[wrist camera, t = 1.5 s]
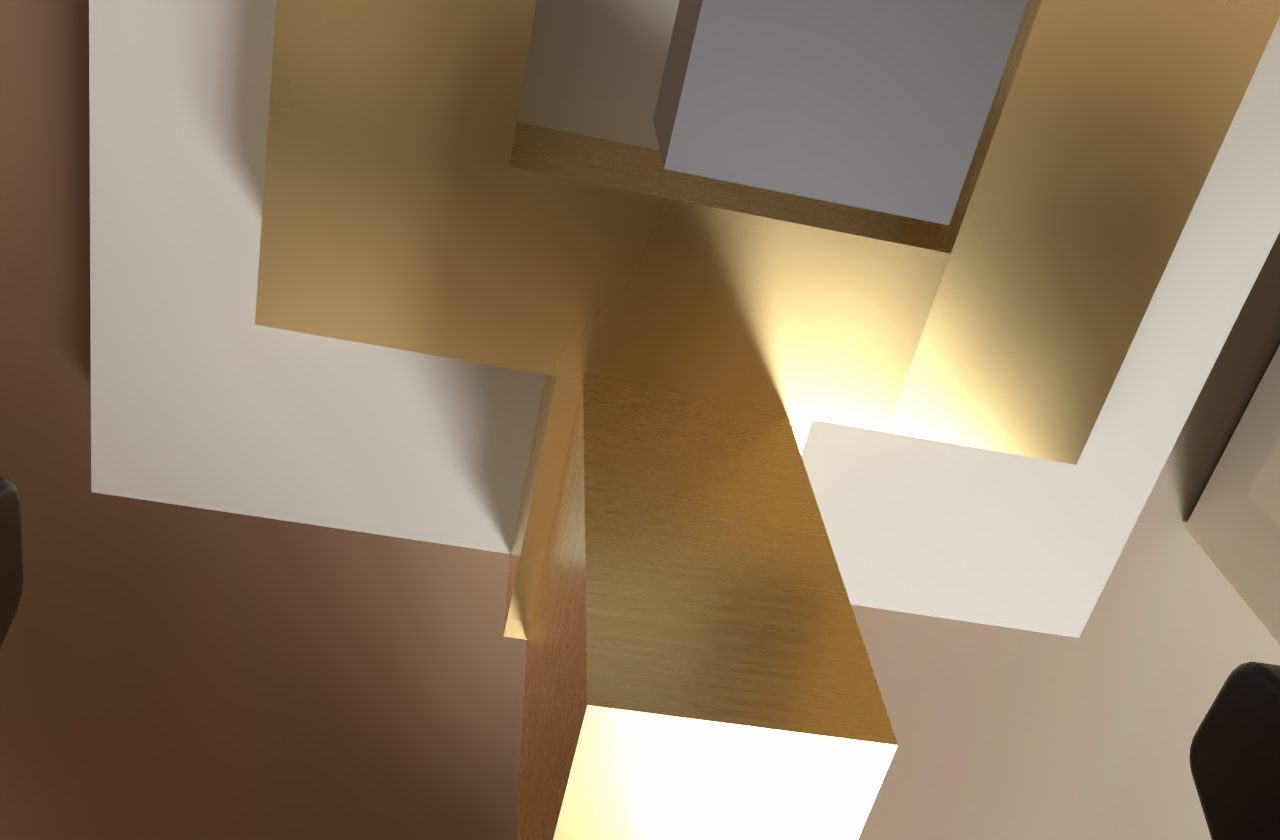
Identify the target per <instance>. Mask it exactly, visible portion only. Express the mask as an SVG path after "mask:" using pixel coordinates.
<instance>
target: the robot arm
mask: <svg viewBox="0 0 1280 840" xmlns="http://www.w3.org/2000/svg"><path fill="white" fill-rule="evenodd" d="M22 585H23V565H22V539H21V514H20V498H19V494H18V491H17V488H16V486H15V485H14V484H13V483H12V482H11V481H10V480H9V479H7V478H3V477H0V648H1V646H2V643H3V641H4V639H5V637H6V634H7V632H8V630H9V628H10V625H11V623H12V621H13V619H14V616H15V614H16V611H17V608H18V605H19V602H20V597H21V593H22ZM1190 767H1191V772H1192V776H1193V779H1194V782H1195V786H1196V789H1197V792H1198V795H1199V799H1200V802H1201V805H1202V809H1203V812H1204V815H1205V819H1206V822H1207V825H1208V828H1209V832H1210V835H1211V838H1212V840H1280V666H1279V665H1271V664H1264V663H1258V662H1248V663H1244V664H1241V665H1240V666H1238V667H1237V668H1236V669H1234V670H1233V671H1232V672H1231V674H1230V675H1229V676H1228V678H1227V680H1226V682H1225V683H1224V685H1223V687H1222V688H1221V690H1220V692H1219V694H1218V695H1217V697H1216V699H1215V701H1214V702H1213V704H1212V706H1211V707H1210V709H1209V711H1208V713H1207V714H1206V716H1205V718H1204V719H1203V721H1202V723H1201V725H1200V726H1199V728H1198V730H1197V732H1196V733H1195V735H1194V738H1193V740H1192V744H1191V748H1190Z"/></svg>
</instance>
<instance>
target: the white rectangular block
mask: <svg viewBox="0 0 1280 840" xmlns="http://www.w3.org/2000/svg"><path fill="white" fill-rule="evenodd" d="M1028 1H1029V0H537V3H536V9H535V15H534V21H533V27H532V33H531V39H530V45H529V51H528V57H527V63H526V69H525V75H524V81H523V87H522V93H521V99H520V105H519V111H518V117H517V122H521V123H526V124H531V125H536V126H541V127H546V128H550V129H555V130H560V131H565V132H570V133H575V134H580V135H585V136H590V137H595V138H600V139H605V140H610V141H615V142H620V143H625V144H630V145H635V146H640V147H645V148H650V149H655V150H660V153H661V158H662V162H663V166H664V169H668V170H673V171H678V172H683V173H688V174H693V175H698V176H703V177H708V178H713V179H718V180H723V181H728V182H733V183H738V184H743V185H748V186H753V187H758V188H763V189H768V190H773V191H778V192H783V193H788V194H793V195H798V196H803V197H808V198H813V199H818V200H823V201H828V202H833V203H838V204H843V205H848V206H854V207H859V208H864V209H869V210H874V211H879V212H884V213H889V214H894V215H899V216H904V217H909V218H914V219H919V220H924V221H929V222H934V223H939V224H944V225H949V223H950V221H951V218H952V215H953V212H954V209H955V206H956V204H957V201H958V198H959V195H960V192H961V190H962V187H963V184H964V181H965V178H966V175H967V173H968V170H969V167H970V164H971V161H972V159H973V156H974V153H975V150H976V147H977V144H978V142H979V139H980V136H981V133H982V130H983V128H984V125H985V122H986V119H987V116H988V113H989V111H990V108H991V105H992V102H993V99H994V97H995V94H996V91H997V88H998V85H999V83H1000V80H1001V77H1002V74H1003V71H1004V68H1005V66H1006V63H1007V60H1008V57H1009V54H1010V52H1011V49H1012V46H1013V43H1014V40H1015V37H1016V35H1017V32H1018V29H1019V26H1020V23H1021V21H1022V18H1023V15H1024V12H1025V9H1026V6H1027V4H1028ZM275 15H276V0H89V106H90V317H91V492H94V493H101V494H107V495H114V496H121V497H128V498H135V499H141V500H148V501H155V502H162V503H168V504H175V505H182V506H189V507H195V508H202V509H209V510H216V511H223V512H229V513H236V514H243V515H250V516H256V517H263V518H270V519H277V520H284V521H290V522H297V523H304V524H311V525H317V526H324V527H331V528H338V529H344V530H351V531H358V532H365V533H372V534H378V535H385V536H392V537H399V538H405V539H412V540H419V541H426V542H432V543H439V544H446V545H453V546H460V547H466V548H473V549H480V550H487V551H493V552H500V553H507V554H511V549H512V544H513V539H514V534H515V529H516V524H517V519H518V514H519V509H520V504H521V499H522V493H523V488H524V483H525V478H526V473H527V468H528V463H529V458H530V453H531V448H532V443H533V438H534V433H535V428H536V423H537V418H538V413H539V408H540V403H541V398H542V393H543V388H544V383H545V378H546V374H541V373H535V372H529V371H523V370H517V369H512V368H506V367H500V366H494V365H488V364H482V363H476V362H470V361H465V360H459V359H453V358H447V357H441V356H435V355H429V354H424V353H418V352H412V351H406V350H400V349H394V348H388V347H383V346H377V345H371V344H365V343H359V342H353V341H347V340H342V339H336V338H330V337H324V336H318V335H312V334H306V333H300V332H295V331H289V330H283V329H277V328H271V327H265V326H259V325H255V313H256V298H257V283H258V268H259V253H260V238H261V223H262V209H263V194H264V179H265V164H266V149H267V134H268V119H269V104H270V89H271V74H272V59H273V44H274V29H275ZM1279 232H1280V17H1279V20H1278V22H1277V24H1276V26H1275V28H1274V31H1273V33H1272V35H1271V37H1270V40H1269V42H1268V44H1267V46H1266V48H1265V51H1264V53H1263V55H1262V57H1261V59H1260V62H1259V64H1258V66H1257V68H1256V70H1255V73H1254V75H1253V77H1252V79H1251V81H1250V84H1249V86H1248V88H1247V90H1246V92H1245V95H1244V97H1243V99H1242V101H1241V103H1240V106H1239V108H1238V110H1237V112H1236V114H1235V117H1234V119H1233V121H1232V123H1231V125H1230V128H1229V130H1228V132H1227V134H1226V136H1225V139H1224V141H1223V143H1222V145H1221V147H1220V150H1219V152H1218V154H1217V156H1216V158H1215V161H1214V163H1213V165H1212V167H1211V169H1210V172H1209V174H1208V176H1207V178H1206V180H1205V183H1204V185H1203V187H1202V189H1201V192H1200V194H1199V196H1198V198H1197V200H1196V203H1195V205H1194V207H1193V209H1192V211H1191V214H1190V216H1189V218H1188V220H1187V222H1186V225H1185V227H1184V229H1183V231H1182V233H1181V236H1180V238H1179V240H1178V242H1177V244H1176V247H1175V249H1174V251H1173V253H1172V255H1171V258H1170V260H1169V262H1168V264H1167V266H1166V269H1165V271H1164V273H1163V275H1162V277H1161V280H1160V282H1159V284H1158V286H1157V288H1156V291H1155V293H1154V295H1153V297H1152V299H1151V302H1150V304H1149V306H1148V308H1147V310H1146V313H1145V315H1144V317H1143V319H1142V321H1141V324H1140V326H1139V328H1138V330H1137V332H1136V335H1135V337H1134V339H1133V341H1132V344H1131V346H1130V348H1129V350H1128V352H1127V355H1126V357H1125V359H1124V361H1123V363H1122V366H1121V368H1120V370H1119V372H1118V374H1117V377H1116V379H1115V381H1114V383H1113V385H1112V388H1111V390H1110V392H1109V394H1108V396H1107V399H1106V401H1105V403H1104V405H1103V407H1102V410H1101V412H1100V414H1099V416H1098V418H1097V421H1096V423H1095V425H1094V427H1093V429H1092V432H1091V434H1090V436H1089V438H1088V440H1087V443H1086V445H1085V447H1084V449H1083V451H1082V454H1081V456H1080V458H1079V460H1078V462H1077V465H1074V464H1068V463H1062V462H1057V461H1051V460H1045V459H1039V458H1033V457H1027V456H1021V455H1016V454H1010V453H1004V452H998V451H992V450H986V449H980V448H975V447H969V446H963V445H957V444H951V443H945V442H939V441H934V440H928V439H922V438H916V437H910V436H904V435H898V434H892V433H887V432H881V431H875V430H869V429H863V428H857V427H851V426H846V425H840V424H834V423H828V422H822V421H816V420H813V421H812V424H811V427H810V430H809V433H808V436H807V439H806V442H805V445H804V449H803V452H802V455H801V456H802V459H803V462H804V465H805V468H806V471H807V474H808V477H809V480H810V483H811V486H812V489H813V493H814V496H815V499H816V502H817V505H818V508H819V511H820V514H821V517H822V520H823V523H824V526H825V529H826V532H827V535H828V538H829V541H830V544H831V547H832V550H833V553H834V556H835V559H836V562H837V565H838V568H839V571H840V574H841V577H842V580H843V583H844V586H845V589H846V592H847V595H848V598H849V601H850V604H852V605H859V606H866V607H872V608H879V609H886V610H893V611H900V612H906V613H913V614H920V615H927V616H933V617H940V618H947V619H954V620H960V621H967V622H974V623H981V624H988V625H994V626H1001V627H1008V628H1015V629H1021V630H1028V631H1035V632H1042V633H1049V634H1055V635H1062V636H1069V637H1076V638H1079V636H1080V634H1081V632H1082V630H1083V628H1084V626H1085V624H1086V622H1087V620H1088V618H1089V616H1090V614H1091V612H1092V610H1093V608H1094V606H1095V604H1096V602H1097V600H1098V598H1099V596H1100V594H1101V592H1102V590H1103V588H1104V586H1105V584H1106V582H1107V580H1108V578H1109V576H1110V574H1111V572H1112V570H1113V568H1114V566H1115V564H1116V562H1117V560H1118V558H1119V556H1120V554H1121V552H1122V550H1123V548H1124V545H1125V543H1126V541H1127V539H1128V537H1129V535H1130V533H1131V531H1132V529H1133V527H1134V525H1135V523H1136V521H1137V519H1138V517H1139V515H1140V513H1141V511H1142V509H1143V507H1144V505H1145V503H1146V501H1147V499H1148V497H1149V495H1150V493H1151V491H1152V489H1153V487H1154V485H1155V483H1156V481H1157V479H1158V477H1159V475H1160V473H1161V471H1162V469H1163V467H1164V465H1165V463H1166V461H1167V459H1168V457H1169V455H1170V453H1171V451H1172V448H1173V446H1174V444H1175V442H1176V440H1177V438H1178V436H1179V434H1180V432H1181V430H1182V428H1183V426H1184V424H1185V422H1186V420H1187V418H1188V416H1189V414H1190V412H1191V410H1192V408H1193V406H1194V404H1195V402H1196V400H1197V398H1198V396H1199V394H1200V392H1201V390H1202V388H1203V386H1204V384H1205V382H1206V380H1207V378H1208V376H1209V374H1210V372H1211V370H1212V368H1213V366H1214V364H1215V362H1216V360H1217V358H1218V356H1219V354H1220V352H1221V349H1222V347H1223V345H1224V343H1225V341H1226V339H1227V337H1228V335H1229V333H1230V331H1231V329H1232V327H1233V325H1234V323H1235V321H1236V319H1237V317H1238V315H1239V313H1240V311H1241V309H1242V307H1243V305H1244V303H1245V301H1246V299H1247V297H1248V295H1249V293H1250V291H1251V289H1252V287H1253V285H1254V283H1255V281H1256V279H1257V277H1258V275H1259V273H1260V271H1261V269H1262V267H1263V265H1264V263H1265V261H1266V259H1267V257H1268V255H1269V253H1270V250H1271V248H1272V246H1273V244H1274V242H1275V240H1276V238H1277V236H1278V234H1279Z"/></svg>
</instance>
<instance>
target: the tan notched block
mask: <svg viewBox="0 0 1280 840" xmlns="http://www.w3.org/2000/svg"><path fill="white" fill-rule="evenodd" d="M536 3H537V0H276V15H275V29H274V44H273V59H272V74H271V89H270V104H269V119H268V134H267V149H266V164H265V179H264V194H263V209H262V223H261V238H260V253H259V268H258V283H257V298H256V313H255V325H259V326H265V327H271V328H277V329H283V330H289V331H295V332H300V333H306V334H312V335H318V336H324V337H330V338H336V339H342V340H347V341H353V342H359V343H365V344H371V345H377V346H383V347H388V348H394V349H400V350H406V351H412V352H418V353H424V354H429V355H435V356H441V357H447V358H453V359H459V360H465V361H470V362H476V363H482V364H488V365H494V366H500V367H506V368H512V369H517V370H523V371H529V372H535V373H541V374H546V378H545V383H544V388H543V393H542V398H541V403H540V408H539V413H538V418H537V423H536V428H535V433H534V438H533V443H532V448H531V453H530V458H529V463H528V468H527V473H526V478H525V483H524V488H523V493H522V499H521V504H520V509H519V514H518V519H517V524H516V529H515V534H514V539H513V544H512V549H511V554H510V566H509V578H508V590H507V602H506V614H505V626H504V637H510V638H518V639H525V640H527V651H526V669H525V687H524V705H523V723H522V741H521V759H520V777H519V795H518V813H517V831H516V840H858V838H859V835H860V833H861V830H862V828H863V826H864V823H865V821H866V819H867V816H868V814H869V812H870V809H871V807H872V805H873V802H874V800H875V798H876V795H877V793H878V791H879V788H880V786H881V784H882V781H883V779H884V777H885V774H886V772H887V770H888V767H889V765H890V762H891V760H892V758H893V755H894V753H895V751H896V748H897V746H898V745H897V742H896V739H895V736H894V733H893V730H892V727H891V724H890V721H889V718H888V715H887V712H886V709H885V706H884V703H883V700H882V697H881V694H880V691H879V688H878V685H877V682H876V679H875V676H874V673H873V670H872V667H871V664H870V661H869V658H868V655H867V652H866V649H865V646H864V643H863V640H862V637H861V634H860V631H859V628H858V625H857V622H856V619H855V616H854V613H853V610H852V607H851V604H850V601H849V598H848V595H847V592H846V589H845V586H844V583H843V580H842V577H841V574H840V571H839V568H838V565H837V562H836V559H835V556H834V553H833V550H832V547H831V544H830V541H829V538H828V535H827V532H826V529H825V526H824V523H823V520H822V517H821V514H820V511H819V508H818V505H817V502H816V499H815V496H814V493H813V489H812V486H811V483H810V480H809V477H808V474H807V471H806V468H805V465H804V462H803V459H802V456H801V455H802V452H803V449H804V445H805V442H806V439H807V436H808V433H809V430H810V427H811V424H812V421H813V420H816V421H822V422H828V423H834V424H840V425H846V426H851V427H857V428H863V429H869V430H875V431H881V432H887V433H892V434H898V435H904V436H910V437H916V438H922V439H928V440H934V441H939V442H945V443H951V444H957V445H963V446H969V447H975V448H980V449H986V450H992V451H998V452H1004V453H1010V454H1016V455H1021V456H1027V457H1033V458H1039V459H1045V460H1051V461H1057V462H1062V463H1068V464H1074V465H1077V462H1078V460H1079V458H1080V456H1081V454H1082V451H1083V449H1084V447H1085V445H1086V443H1087V440H1088V438H1089V436H1090V434H1091V432H1092V429H1093V427H1094V425H1095V423H1096V421H1097V418H1098V416H1099V414H1100V412H1101V410H1102V407H1103V405H1104V403H1105V401H1106V399H1107V396H1108V394H1109V392H1110V390H1111V388H1112V385H1113V383H1114V381H1115V379H1116V377H1117V374H1118V372H1119V370H1120V368H1121V366H1122V363H1123V361H1124V359H1125V357H1126V355H1127V352H1128V350H1129V348H1130V346H1131V344H1132V341H1133V339H1134V337H1135V335H1136V332H1137V330H1138V328H1139V326H1140V324H1141V321H1142V319H1143V317H1144V315H1145V313H1146V310H1147V308H1148V306H1149V304H1150V302H1151V299H1152V297H1153V295H1154V293H1155V291H1156V288H1157V286H1158V284H1159V282H1160V280H1161V277H1162V275H1163V273H1164V271H1165V269H1166V266H1167V264H1168V262H1169V260H1170V258H1171V255H1172V253H1173V251H1174V249H1175V247H1176V244H1177V242H1178V240H1179V238H1180V236H1181V233H1182V231H1183V229H1184V227H1185V225H1186V222H1187V220H1188V218H1189V216H1190V214H1191V211H1192V209H1193V207H1194V205H1195V203H1196V200H1197V198H1198V196H1199V194H1200V192H1201V189H1202V187H1203V185H1204V183H1205V180H1206V178H1207V176H1208V174H1209V172H1210V169H1211V167H1212V165H1213V163H1214V161H1215V158H1216V156H1217V154H1218V152H1219V150H1220V147H1221V145H1222V143H1223V141H1224V139H1225V136H1226V134H1227V132H1228V130H1229V128H1230V125H1231V123H1232V121H1233V119H1234V117H1235V114H1236V112H1237V110H1238V108H1239V106H1240V103H1241V101H1242V99H1243V97H1244V95H1245V92H1246V90H1247V88H1248V86H1249V84H1250V81H1251V79H1252V77H1253V75H1254V73H1255V70H1256V68H1257V66H1258V64H1259V62H1260V59H1261V57H1262V55H1263V53H1264V51H1265V48H1266V46H1267V44H1268V42H1269V40H1270V37H1271V35H1272V33H1273V31H1274V28H1275V26H1276V24H1277V22H1278V20H1279V17H1280V0H1029V1H1028V4H1027V6H1026V9H1025V12H1024V15H1023V18H1022V21H1021V23H1020V26H1019V29H1018V32H1017V35H1016V37H1015V40H1014V43H1013V46H1012V49H1011V52H1010V54H1009V57H1008V60H1007V63H1006V66H1005V68H1004V71H1003V74H1002V77H1001V80H1000V83H999V85H998V88H997V91H996V94H995V97H994V99H993V102H992V105H991V108H990V111H989V113H988V116H987V119H986V122H985V125H984V128H983V130H982V133H981V136H980V139H979V142H978V144H977V147H976V150H975V153H974V156H973V159H972V161H971V164H970V167H969V170H968V173H967V175H966V178H965V181H964V184H963V187H962V190H961V192H960V195H959V198H958V201H957V204H956V206H955V209H954V212H953V215H952V218H951V221H950V223H949V225H944V224H939V223H934V222H929V221H924V220H919V219H914V218H909V217H904V216H899V215H894V214H889V213H884V212H879V211H874V210H869V209H864V208H859V207H854V206H848V205H843V204H838V203H833V202H828V201H823V200H818V199H813V198H808V197H803V196H798V195H793V194H788V193H783V192H778V191H773V190H768V189H763V188H758V187H753V186H748V185H743V184H738V183H733V182H728V181H723V180H718V179H713V178H708V177H703V176H698V175H693V174H688V173H683V172H678V171H673V170H668V169H664V166H663V162H662V158H661V153H660V150H655V149H650V148H645V147H640V146H635V145H630V144H625V143H620V142H615V141H610V140H605V139H600V138H595V137H590V136H585V135H580V134H575V133H570V132H565V131H560V130H555V129H550V128H546V127H541V126H536V125H531V124H526V123H521V122H517V117H518V111H519V105H520V99H521V93H522V87H523V81H524V75H525V69H526V63H527V57H528V51H529V45H530V39H531V33H532V27H533V21H534V15H535V9H536Z"/></svg>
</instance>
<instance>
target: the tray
mask: <svg viewBox="0 0 1280 840" xmlns="http://www.w3.org/2000/svg"><path fill="white" fill-rule="evenodd" d="M1185 528H1186V529H1187V531H1188V532H1189V533H1190V534H1191V536H1192V537H1193V538H1194V539H1195V540H1196V542H1197V543H1198V544H1199V545H1200V547H1201V548H1202V549H1203V550H1204V552H1205V553H1206V554H1207V555H1208V556H1209V558H1210V559H1211V560H1212V561H1213V563H1214V564H1215V565H1216V566H1217V568H1218V569H1219V570H1220V571H1221V572H1222V574H1223V575H1224V576H1225V577H1226V579H1227V580H1228V581H1229V582H1230V584H1231V585H1232V586H1233V587H1234V588H1235V590H1236V591H1237V592H1238V593H1239V595H1240V596H1241V597H1242V598H1243V600H1244V601H1245V602H1246V603H1247V604H1248V606H1249V607H1250V608H1251V609H1252V611H1253V612H1254V613H1255V614H1256V616H1257V617H1258V618H1259V619H1260V621H1261V622H1262V623H1263V624H1264V625H1265V627H1266V628H1267V629H1268V630H1269V632H1270V633H1271V634H1272V635H1273V637H1274V638H1275V639H1276V640H1277V641H1278V643H1279V644H1280V345H1279V347H1278V349H1277V351H1276V353H1275V355H1274V357H1273V359H1272V360H1271V362H1270V364H1269V366H1268V368H1267V370H1266V372H1265V374H1264V376H1263V378H1262V380H1261V382H1260V384H1259V385H1258V387H1257V389H1256V391H1255V393H1254V395H1253V397H1252V399H1251V401H1250V403H1249V405H1248V407H1247V409H1246V410H1245V412H1244V414H1243V416H1242V418H1241V420H1240V422H1239V424H1238V426H1237V428H1236V430H1235V432H1234V434H1233V436H1232V437H1231V439H1230V441H1229V443H1228V445H1227V447H1226V449H1225V451H1224V453H1223V455H1222V457H1221V459H1220V461H1219V462H1218V464H1217V466H1216V468H1215V470H1214V472H1213V474H1212V476H1211V478H1210V480H1209V482H1208V484H1207V486H1206V487H1205V489H1204V491H1203V493H1202V495H1201V497H1200V499H1199V501H1198V503H1197V505H1196V507H1195V509H1194V511H1193V513H1192V514H1191V516H1190V518H1189V520H1188V522H1187V524H1186V526H1185Z"/></svg>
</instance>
